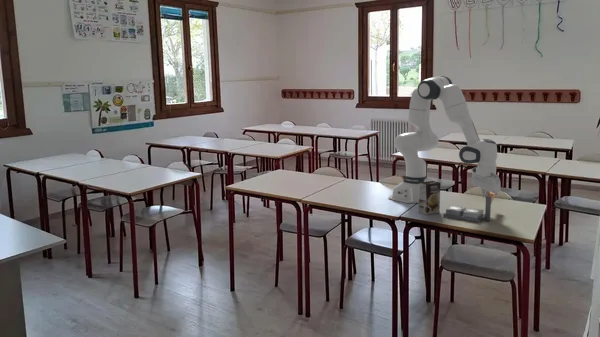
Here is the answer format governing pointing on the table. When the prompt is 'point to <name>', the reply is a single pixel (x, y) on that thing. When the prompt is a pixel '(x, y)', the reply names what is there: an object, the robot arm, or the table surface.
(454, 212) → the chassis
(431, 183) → the coffee box
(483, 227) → the table surface
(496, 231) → the table surface
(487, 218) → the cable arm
